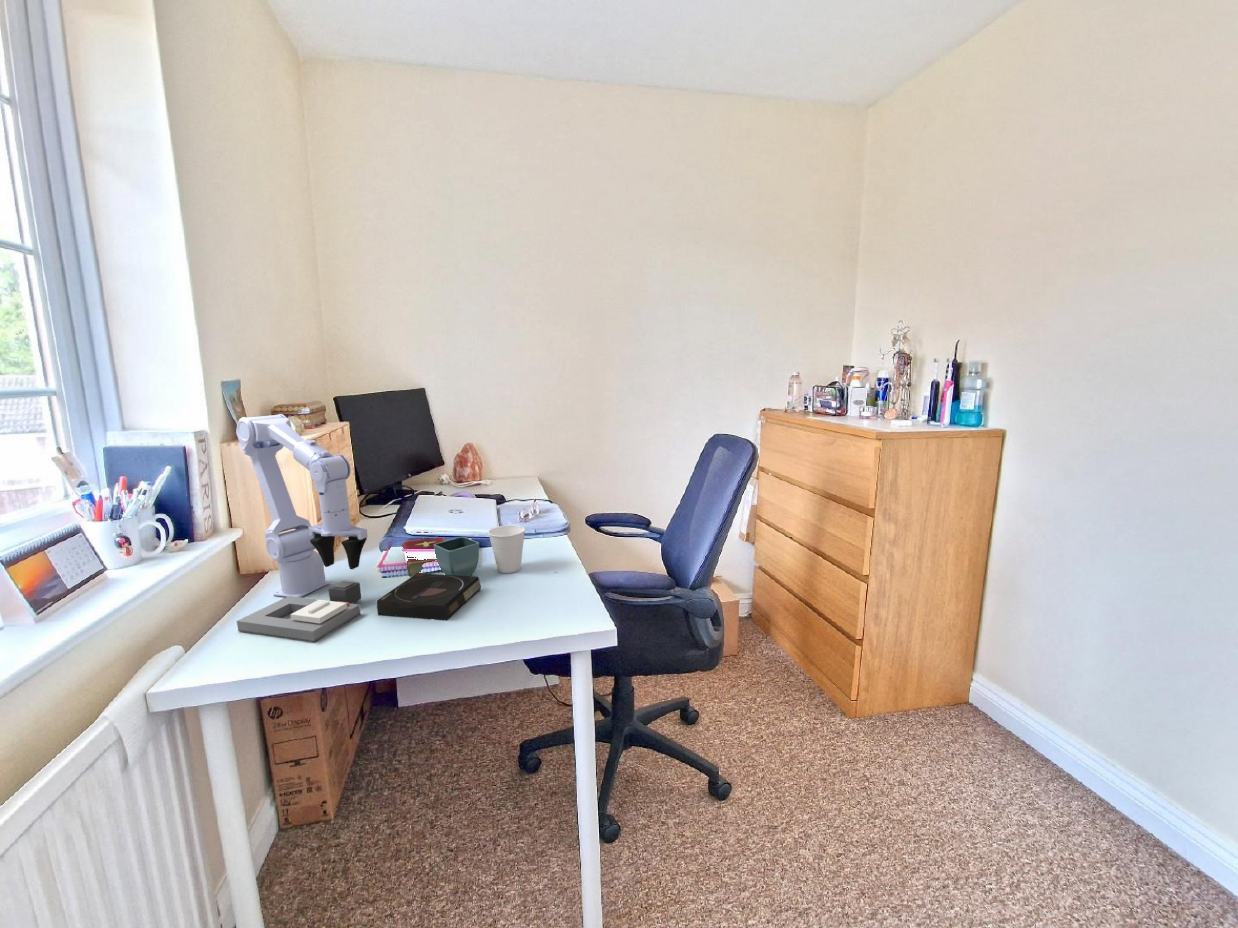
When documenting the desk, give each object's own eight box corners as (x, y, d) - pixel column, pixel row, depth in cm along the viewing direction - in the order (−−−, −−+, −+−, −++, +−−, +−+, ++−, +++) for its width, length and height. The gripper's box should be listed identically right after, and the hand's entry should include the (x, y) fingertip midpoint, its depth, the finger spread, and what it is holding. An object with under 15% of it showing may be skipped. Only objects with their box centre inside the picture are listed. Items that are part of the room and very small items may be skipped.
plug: (345, 599, 132) (343, 579, 132) (361, 601, 131) (359, 581, 130) (330, 608, 128) (328, 587, 127) (347, 610, 127) (344, 588, 126)
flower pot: (435, 576, 146) (432, 543, 144) (465, 567, 152) (463, 535, 150) (451, 585, 140) (448, 551, 138) (482, 575, 146) (480, 542, 144)
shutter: (319, 604, 124) (318, 597, 123) (347, 607, 122) (346, 600, 121) (291, 619, 117) (290, 611, 116) (320, 623, 114) (319, 615, 114)
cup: (495, 563, 154) (493, 525, 152) (531, 562, 154) (528, 524, 152) (485, 576, 145) (483, 536, 143) (523, 576, 144) (521, 535, 142)
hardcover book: (408, 578, 146) (407, 562, 146) (402, 554, 165) (401, 540, 164) (455, 570, 151) (454, 555, 151) (444, 548, 170) (443, 534, 169)
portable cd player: (448, 622, 120) (447, 605, 120) (378, 617, 124) (376, 600, 123) (481, 592, 136) (480, 576, 136) (418, 588, 140) (417, 573, 139)
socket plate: (289, 605, 130) (288, 593, 129) (360, 614, 124) (359, 601, 124) (238, 631, 118) (236, 618, 117) (314, 642, 112) (312, 628, 112)
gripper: (294, 512, 124) (302, 570, 126) (348, 515, 120) (355, 575, 122) (319, 504, 130) (326, 559, 133) (371, 507, 126) (377, 564, 129)
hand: (341, 566), depth 128 cm, fingers open, 6 cm apart
